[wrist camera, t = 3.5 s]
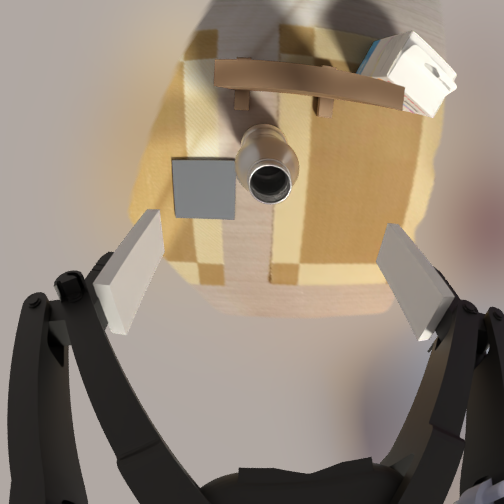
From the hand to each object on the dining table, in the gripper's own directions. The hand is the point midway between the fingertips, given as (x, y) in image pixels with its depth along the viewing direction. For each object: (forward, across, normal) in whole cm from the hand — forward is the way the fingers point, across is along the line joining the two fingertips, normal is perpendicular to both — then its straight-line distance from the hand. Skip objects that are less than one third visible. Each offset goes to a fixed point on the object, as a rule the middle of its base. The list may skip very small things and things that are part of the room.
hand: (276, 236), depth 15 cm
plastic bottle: (+29, 0, 0) cm, 29 cm away
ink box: (+29, +18, +14) cm, 37 cm away
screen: (+28, +3, +9) cm, 30 cm away
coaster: (+29, -9, -8) cm, 31 cm away
